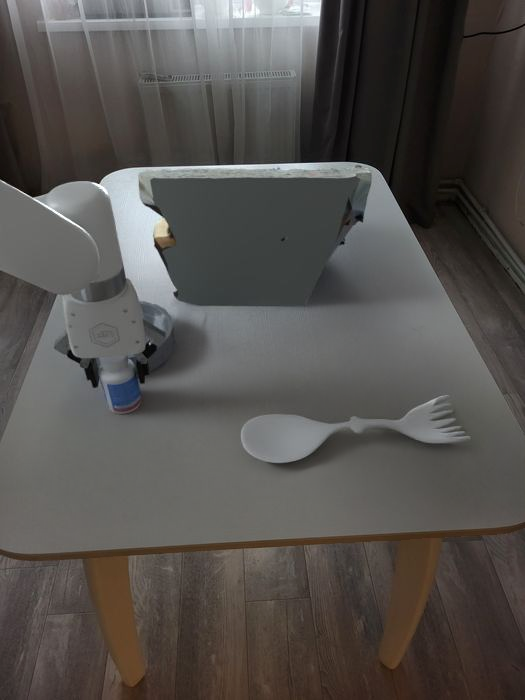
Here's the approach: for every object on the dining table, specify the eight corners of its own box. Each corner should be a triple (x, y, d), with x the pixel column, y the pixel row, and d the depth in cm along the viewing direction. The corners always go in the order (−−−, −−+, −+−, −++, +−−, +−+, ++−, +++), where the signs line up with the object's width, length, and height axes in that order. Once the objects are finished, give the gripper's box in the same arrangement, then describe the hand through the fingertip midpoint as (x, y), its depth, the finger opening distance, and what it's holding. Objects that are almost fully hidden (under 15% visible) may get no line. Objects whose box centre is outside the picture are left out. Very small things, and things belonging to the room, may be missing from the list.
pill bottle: (149, 398, 88) (140, 351, 81) (125, 420, 84) (114, 373, 78) (123, 385, 90) (112, 339, 83) (99, 406, 86) (86, 359, 80)
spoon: (467, 453, 79) (473, 437, 77) (244, 473, 77) (243, 457, 74) (445, 407, 86) (450, 391, 84) (238, 424, 83) (238, 408, 81)
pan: (102, 391, 89) (96, 371, 86) (72, 338, 99) (66, 318, 96) (190, 357, 95) (188, 337, 92) (154, 311, 105) (151, 291, 102)
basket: (345, 227, 128) (351, 102, 110) (371, 308, 104) (383, 165, 86) (172, 240, 128) (150, 117, 110) (159, 323, 105) (127, 184, 87)
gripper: (21, 301, 69) (57, 402, 80) (162, 291, 70) (177, 392, 82) (33, 268, 74) (64, 367, 86) (163, 260, 76) (177, 358, 87)
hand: (119, 378), depth 84 cm, fingers open, 6 cm apart
